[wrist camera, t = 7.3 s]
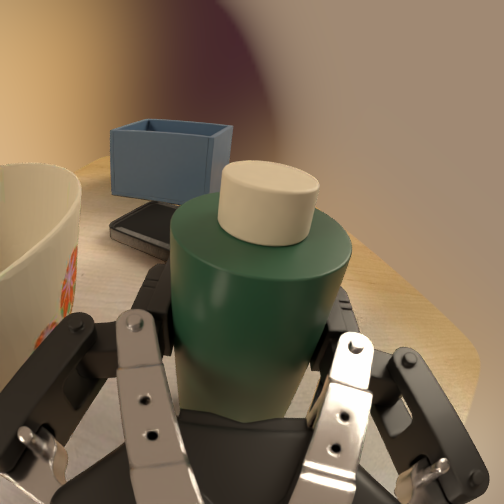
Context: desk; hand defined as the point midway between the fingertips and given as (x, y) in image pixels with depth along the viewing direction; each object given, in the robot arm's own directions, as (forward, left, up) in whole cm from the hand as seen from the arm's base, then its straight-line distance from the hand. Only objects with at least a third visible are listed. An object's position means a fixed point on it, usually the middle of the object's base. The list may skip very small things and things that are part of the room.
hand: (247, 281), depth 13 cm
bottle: (0, +3, -7) cm, 7 cm away
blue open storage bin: (+14, -26, -7) cm, 31 cm away
